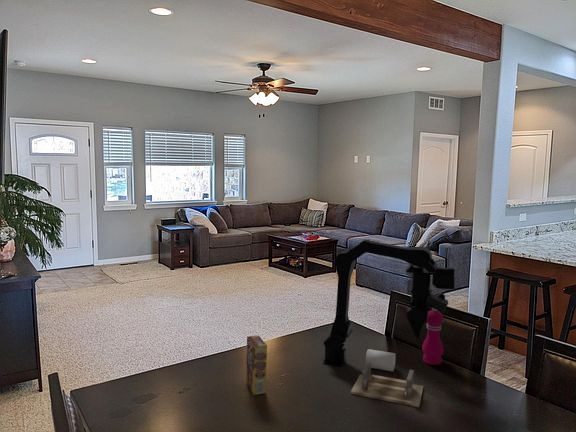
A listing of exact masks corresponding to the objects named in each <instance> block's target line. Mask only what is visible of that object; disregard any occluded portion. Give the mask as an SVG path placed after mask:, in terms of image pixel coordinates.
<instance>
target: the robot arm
mask: <svg viewBox="0 0 576 432" xmlns="http://www.w3.org/2000/svg"><path fill="white" fill-rule="evenodd" d="M366 253H368V254H372V255H377V256H381V257H387V258H392V259H397V260H401V261H403V262H404V263H405V262H406V263H407V264H410V266H409V267H407V268H406V270H405V272H406V273H411V289H410V294H411V297H410V299H411V300H410V303H409V306H410V307H409V308H408V309H407V311H406V319H407V321H408V322H409V325H410V327H411V330H412V332H413V335H414V337H415V339H420V336H421V333H422V329H423V327H424V324H425V323H426V324H427V320H428V312H429V311H431V310H432V308H434V309H436V310H437V311H438V312H440V313H441V314H444V313H445V312H446V309H447V307H448V305H449V300H448V299H446V294H444V293H442V292H440V293H439V294H433V293H432V289H431V284H432V285H433V287H435V289H438V290H439V289H440V290H450V291H454V290H455V286H456V285H455V284H456V277H455V275H456V274H455V273H456V272H455V271H456V269H455V268H454V267H448V268H447V267H439V266H438V265H437V263H436V261H434V260H435V259H434V258H433V254H432V251H431V250H430V249H429V247H425V246H399V245H395V244H388V243H384V242H379V241H375V240H374V241H373V240H369V239H362V241H360V242H359V243H358V244H357V245H355V246H354V247H353V248H351V249H350V250H349V249H348V250H346V249H345V250H343V251H342V252H340V253H338V255H336V257H335V259H334V263H335V271H336V276H337V278H338V279H337V292H336V305H335V306H336V307H335V316H334V317H335V318H334V320H333V323H332V325H331V331H330V333H329V335H328V336H327V338H325V340H324V341H323V345H324V360H323V364H326V365H333V366H336V367H337V366H338V367H342V365H343V364H344V363H345V361H346V360H347V359H346V357H347V355H346V354H347V349H346V348H345V342H346V341H347V339H348V338H349V337H350V336H351V334H352V333H353V331H354V330H353V324H354V320H350V318H349V308H350V306H349V305H350V293H351V280H352V275H353V272H354V269H355V266H356V262H357V259H358V258H360V257H361V256H363V255H365V254H366ZM431 275H432V277H431ZM431 278H432V279H431ZM431 282H432V283H431Z"/></svg>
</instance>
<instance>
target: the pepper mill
mask: <svg viewBox="0 0 576 432" xmlns="http://www.w3.org/2000/svg"><path fill="white" fill-rule="evenodd" d="M443 322H444V315H443V313H441V312H439V311H438V310H436V309H434V308H432V307H431V310H430V311H428V320H427V322H426V329H427V333H426V334H427V335H426V338H425V339H424V341H423V344H422V347H421V350H422V352H423V355H422V361H423V362H424V363H425V364H427V365H431V366H439V365H441V364H442V359H443V358H442V355H444V346H443V343H442V341H441V337H440V331H441V330H442V323H443Z"/></svg>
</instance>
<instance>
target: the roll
mask: <svg viewBox="0 0 576 432" xmlns="http://www.w3.org/2000/svg"><path fill="white" fill-rule="evenodd" d="M367 362H368V363H371V369H375V370H376V369H377V370H382V371H386V372H387V371H388V372H392V373H393V372H394V370H395V367H396V353H394V352H388V351H383V350H375V349H370V348H368V349H367V351H366V354H365V365H366V364H367Z"/></svg>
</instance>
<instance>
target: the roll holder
mask: <svg viewBox="0 0 576 432" xmlns="http://www.w3.org/2000/svg"><path fill="white" fill-rule="evenodd" d="M361 373H362V374H359V376H358V377H357V379H356V380H355V383H354V384H353V387H352V389H351V390H350V394H351V395H357V396H361V397H366V398H370V399H377V400H380V401H386V402H391V403H396V404H400V405H405V406H411V407H414V408H415V407H416V408H420V404H421V401H422V396H423V391H424V385H419V384H414V379H415V378H414V373H415V370H414V369H409V371H408V375H407V378H406V380H403V379H400V378H398V379H397V378H392V377H387V376H382V375H376V374H371V373H372V368H371V363H368V362H367V364H366V363H365V366H364V368H363V370H362V372H361Z"/></svg>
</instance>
